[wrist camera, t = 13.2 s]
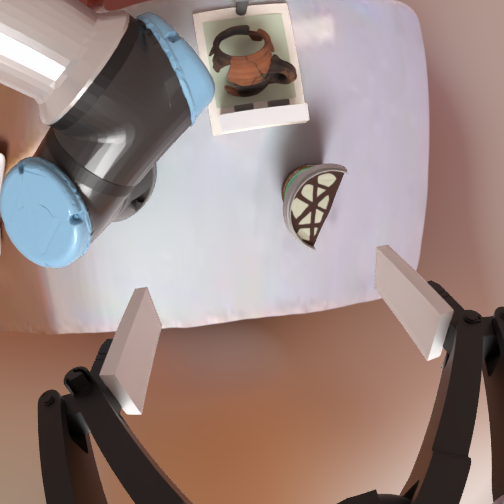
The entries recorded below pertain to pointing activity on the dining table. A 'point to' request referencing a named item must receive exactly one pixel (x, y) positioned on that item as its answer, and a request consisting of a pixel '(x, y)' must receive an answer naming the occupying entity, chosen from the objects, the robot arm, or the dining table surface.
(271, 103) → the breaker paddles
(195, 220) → the dining table surface
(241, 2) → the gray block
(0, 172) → the salad plate
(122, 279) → the dining table surface
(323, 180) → the food container
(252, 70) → the pottery mug
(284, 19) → the stand
